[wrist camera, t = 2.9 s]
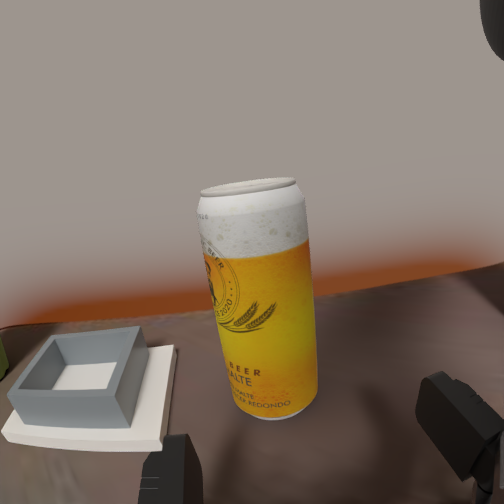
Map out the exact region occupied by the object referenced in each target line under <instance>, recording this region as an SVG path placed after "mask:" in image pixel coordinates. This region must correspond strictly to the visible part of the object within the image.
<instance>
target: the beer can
mask: <svg viewBox="0 0 504 504" xmlns="http://www.w3.org/2000/svg"><path fill="white" fill-rule="evenodd" d="M200 193H201V198H200V202H199V205H198V209H197V212H196V214H197V220H198V226H199V231H200V237H201V243H202V248H203V254H204V259H205V265H206V270H207V275H208V281H209V286H210V291H211V296H212V301H213V306H214V311H215V316H216V321H217V326H218V330H219V335H220V340H221V345H222V349H223V354H224V358H225V363H226V367H227V372H228V376H229V381H230V385H231V389H232V393H233V398H234V401H235V403H236V404H237V405H238V407H239V408H241V409H242V410H243V411H245V412H246V413H249V414H251V415H252V416H254V417H256V418H259V419H263V420H282V419H286V418H289V417H292V416H294V415H296V414H298V413H299V412H301V411H302V410H303V409H304V408H305V407H306V406H307V405H309V404H310V403H311V402H312V400H313V399H314V398H315V396H316V394H317V390H318V375H317V351H316V331H315V314H314V298H313V286H312V285H313V284H312V271H311V259H310V247H309V237H308V226H307V216H306V206H305V198H304V197H303V195H302V193H301V192H300V190H299V188H298V187H297V185H296V182H295V179H294V178H270V179H260V180H252V181H245V182H238V183H232V184H226V185H221V186H216V187H212V188H208V189H204V190H202V191H201V192H200Z"/></svg>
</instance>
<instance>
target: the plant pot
mask: <svg viewBox="0 0 504 504" xmlns="http://www.w3.org/2000/svg"><path fill="white" fill-rule="evenodd" d="M8 368H9V363H8V360H7V356H6V353H5V350H4V346H3V343H2V339H1V336H0V380H1V379H2V377H3V376H4V374H5V371H6V369H8Z"/></svg>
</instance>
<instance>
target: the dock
mask: <svg viewBox="0 0 504 504" xmlns="http://www.w3.org/2000/svg"><path fill="white" fill-rule="evenodd" d="M176 358H177V354H176V351H175V347H174V345H168V346H160V347H152V348H147V345H146V342H145V339H144V336H143V333H142V329H141V326H135V327H127V328H118V329H110V330H101V331H92V332H82V333H72V334H61V335H51V336H50V338H49V339H48V340H47V341H46V343H45V344H44V345H43V347H42V348H41V349H40V350H39V352H38V353H37V354H36V355H35V357H34V358H33V359H32V361H31V362H30V363H29V365H28V366H27V367H26V369H25V370H24V371H23V373H22V374H21V375H20V377H19V378H18V379H17V381H16V382H15V384H14V385H13V386H12V388H11V389H10V390H9V392H8V393H7V397H8V398H9V400H10V402H11V404H12V405H13V407H14V411H13V412H12V414H11V415H10V417H9V419H8V420H7V422H6V424H5V425H4V427H3V428H2V430H1V432H2V434H3V435H4V437H5V438H6V439H7V441H8V442H13V443H18V444H25V445H32V446H39V447H48V448H57V449H68V450H82V451H103V452H147V451H162V445H163V438H164V436H165V435H167V426H168V418H169V410H170V402H171V394H172V386H173V379H174V372H175V364H176Z"/></svg>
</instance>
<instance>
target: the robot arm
mask: <svg viewBox="0 0 504 504" xmlns="http://www.w3.org/2000/svg"><path fill="white" fill-rule="evenodd" d="M480 12H481V19H482V25H483V29H484V33H485V36H486V38H487V41H488V43H489V45H490V46H491V48H492V50H493V51H494V52H495V54H496V55H497V56H498V57H499V58H501V59H502V60H503V61H504V0H480ZM415 413H416V418H417V420H418V422H419V424H420V425H421V427H422V428H423V429H424V431H425V432H426V433H427V435H428V436H429V437H430V439H431V440H432V441H433V443H434V444H435V446H436V447H437V448H438V450H439V451H440V452H441V454H442V455H443V456H444V458H445V459H446V460H447V462H448V463H449V465H450V466H451V467H452V469H453V470H454V471H455V473H456V474H457V476H458V477H459V478H460V480H461V481H462V482H463V481H465V480H467V479H468V478H470V477H472V476H473V477H474V478H475V481H474V484H473V491H472V498H471V504H504V420H503V419H502V418H501V417H500V416H499V415H498V414H497V413H496V412H495V411H494V410H493V409H492V408H491V407H490V406H489V405H488V404H487V403H486V402H485V401H483V399H482V398H481V397H480V396H479V395H477V394H476V392H475V391H474V390H473V389H472V388H471V387H470V386H469V385H467V384H465V383H463V382H461V381H459V380H457V379H455V380H452V379H451V378H450V377H449V376H448V375H447V374H446V373H445V372H443V371H440V372H438V373H435V374H433V375H431V376H428V377H426V378H424V379H423V380H422V382H421V386H420V391H419V395H418V400H417V404H416V409H415ZM141 477H142V479H141V483H140V491H139V498H138V504H203V476H202V468H201V464H200V461H199V458H198V456H197V454H196V451H195V449H194V447H193V444H192V442H191V439H190V437H189V435H188V434H177V435H165V436H164V438H163V445H162V451H151V453H150V454H149V456H148V457H147V459H146V460H145V462H144V463H143V470H142V476H141Z"/></svg>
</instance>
